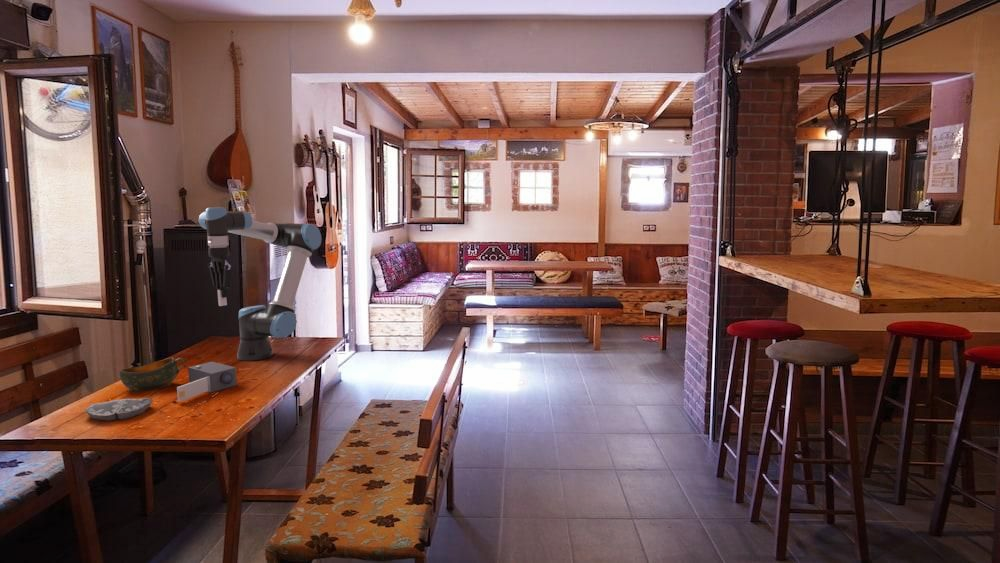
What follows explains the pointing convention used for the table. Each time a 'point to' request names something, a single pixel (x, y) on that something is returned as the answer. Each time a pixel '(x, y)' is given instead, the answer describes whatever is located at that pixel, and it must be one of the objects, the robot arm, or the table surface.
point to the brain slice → (118, 409)
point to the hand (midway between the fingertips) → (222, 305)
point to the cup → (151, 375)
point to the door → (193, 388)
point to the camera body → (214, 375)
